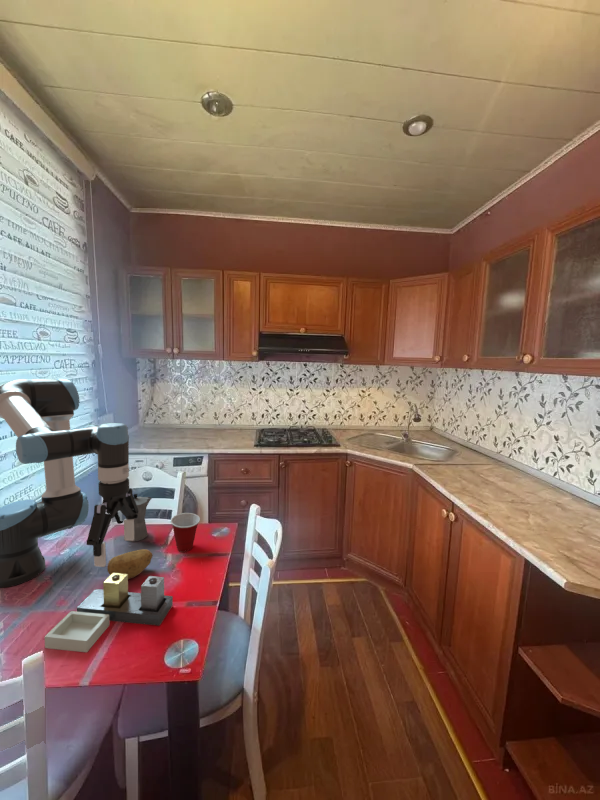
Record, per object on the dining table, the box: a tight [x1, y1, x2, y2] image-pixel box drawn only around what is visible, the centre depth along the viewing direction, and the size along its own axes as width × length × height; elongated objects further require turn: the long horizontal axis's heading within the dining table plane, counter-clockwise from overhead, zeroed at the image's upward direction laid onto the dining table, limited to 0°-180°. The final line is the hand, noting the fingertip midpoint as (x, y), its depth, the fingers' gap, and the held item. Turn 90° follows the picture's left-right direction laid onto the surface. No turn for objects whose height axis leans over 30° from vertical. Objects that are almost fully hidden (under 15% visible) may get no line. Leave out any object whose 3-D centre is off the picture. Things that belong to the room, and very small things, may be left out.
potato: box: [106, 548, 153, 580], centre depth 116 cm, size 10×14×8 cm
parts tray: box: [44, 610, 110, 653], centre depth 90 cm, size 11×9×3 cm
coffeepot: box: [114, 493, 153, 542], centre depth 140 cm, size 15×9×18 cm, turn 138°
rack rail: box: [76, 588, 174, 627], centre depth 100 cm, size 24×8×3 cm, turn 86°
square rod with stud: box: [140, 575, 165, 612], centre depth 99 cm, size 4×4×10 cm
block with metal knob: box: [102, 573, 129, 609], centre depth 99 cm, size 4×4×10 cm
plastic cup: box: [170, 512, 201, 553], centre depth 134 cm, size 11×11×12 cm
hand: (115, 552), depth 98 cm, fingers open, 13 cm apart
